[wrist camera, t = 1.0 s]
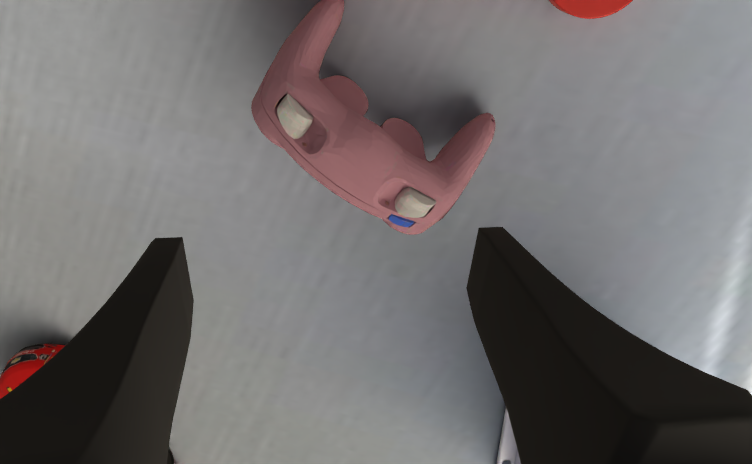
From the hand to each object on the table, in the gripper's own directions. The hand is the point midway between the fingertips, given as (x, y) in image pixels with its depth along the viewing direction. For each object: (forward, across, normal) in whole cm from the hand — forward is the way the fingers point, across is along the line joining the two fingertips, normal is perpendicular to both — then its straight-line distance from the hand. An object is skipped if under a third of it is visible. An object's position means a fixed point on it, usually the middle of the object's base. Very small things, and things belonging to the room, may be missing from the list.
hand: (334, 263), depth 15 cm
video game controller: (+14, -3, +3) cm, 15 cm away
